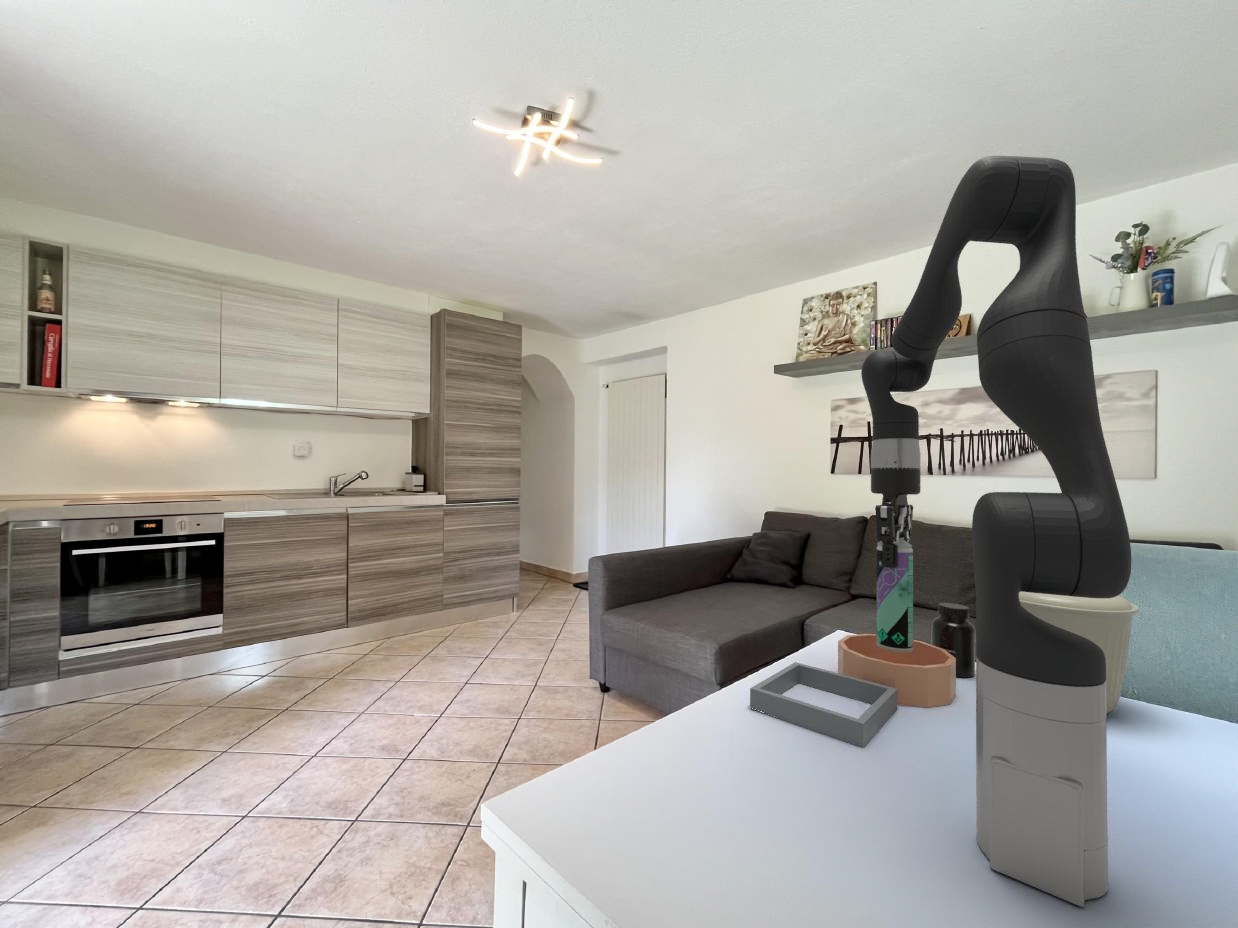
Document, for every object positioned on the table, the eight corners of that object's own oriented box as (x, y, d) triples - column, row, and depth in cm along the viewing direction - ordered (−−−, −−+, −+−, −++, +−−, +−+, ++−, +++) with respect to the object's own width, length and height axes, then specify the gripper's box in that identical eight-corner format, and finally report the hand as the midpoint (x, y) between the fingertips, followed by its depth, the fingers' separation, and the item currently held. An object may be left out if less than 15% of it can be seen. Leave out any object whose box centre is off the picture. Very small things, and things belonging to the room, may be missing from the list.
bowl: (941, 717, 75) (941, 675, 76) (824, 684, 87) (824, 648, 87) (962, 684, 88) (962, 649, 88) (857, 660, 99) (858, 628, 100)
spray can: (880, 640, 91) (880, 527, 92) (915, 647, 88) (915, 529, 89) (872, 647, 87) (873, 529, 88) (909, 655, 84) (909, 531, 84)
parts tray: (863, 747, 66) (863, 723, 66) (750, 708, 77) (750, 688, 77) (897, 708, 78) (897, 688, 78) (795, 679, 89) (795, 661, 89)
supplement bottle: (937, 675, 92) (937, 607, 93) (926, 663, 99) (926, 599, 99) (981, 680, 90) (981, 611, 91) (967, 667, 97) (967, 603, 97)
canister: (988, 671, 95) (987, 556, 95) (1124, 696, 84) (1122, 567, 85) (991, 705, 80) (991, 569, 80) (1157, 741, 70) (1154, 584, 70)
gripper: (908, 464, 81) (908, 573, 80) (929, 467, 91) (929, 563, 91) (858, 465, 86) (857, 567, 85) (883, 468, 96) (883, 558, 96)
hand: (895, 564), depth 88 cm, fingers closed on spray can, 5 cm apart
